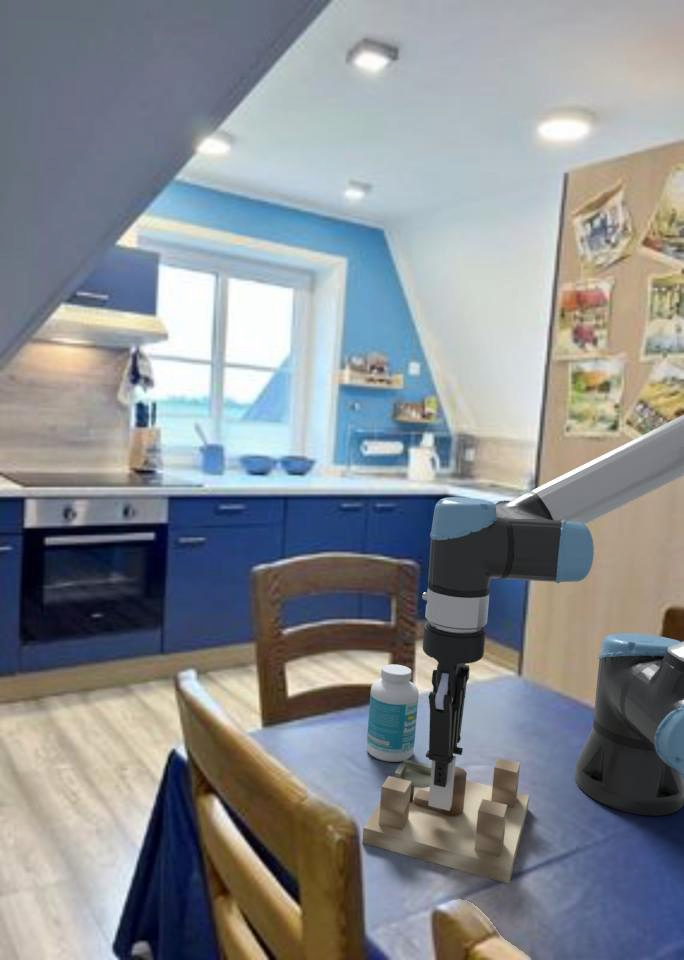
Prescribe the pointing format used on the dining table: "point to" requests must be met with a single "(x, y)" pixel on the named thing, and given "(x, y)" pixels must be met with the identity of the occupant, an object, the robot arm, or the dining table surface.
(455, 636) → the robot arm
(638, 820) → the dining table surface
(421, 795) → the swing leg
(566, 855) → the dining table surface
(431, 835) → the stool seat
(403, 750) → the pill bottle
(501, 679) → the dining table surface
